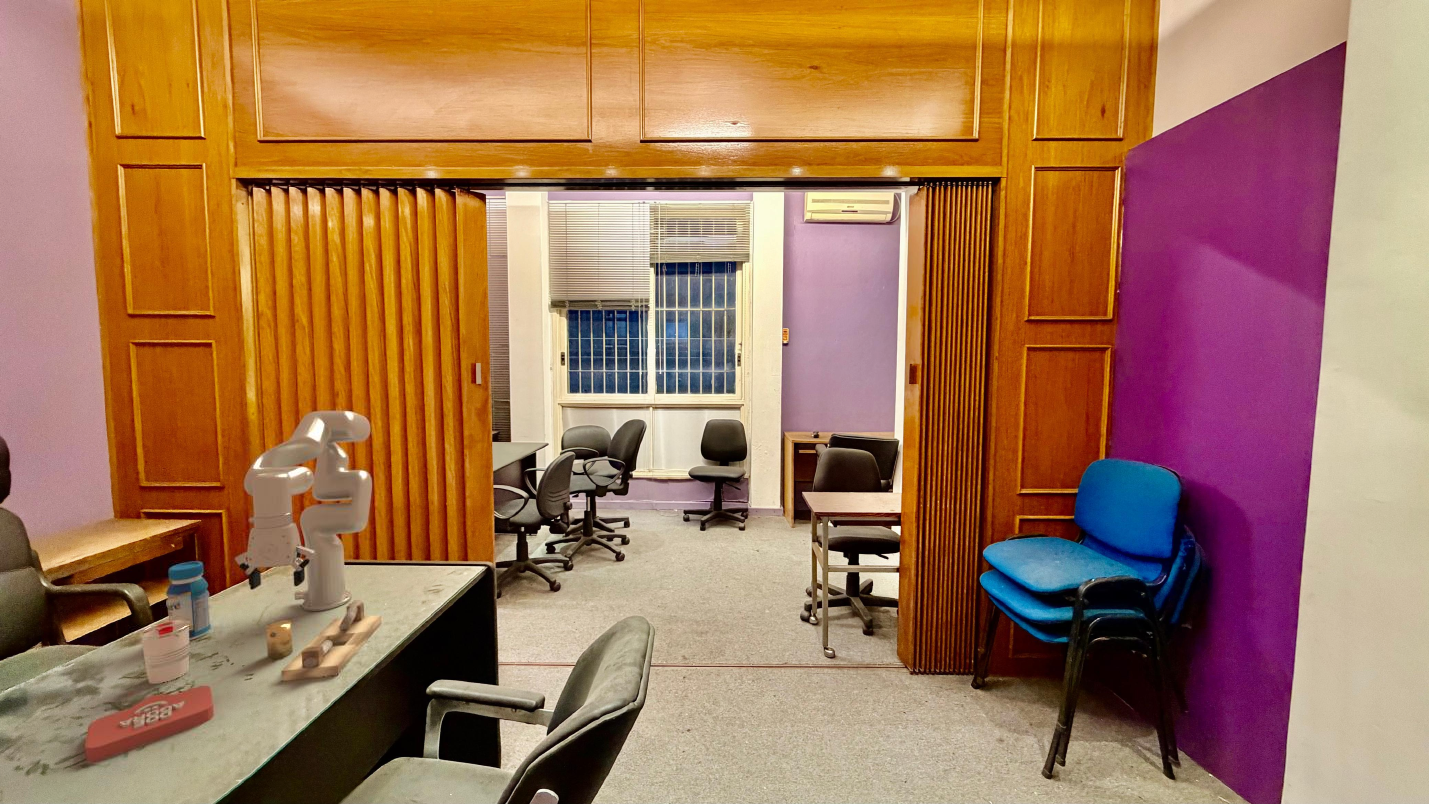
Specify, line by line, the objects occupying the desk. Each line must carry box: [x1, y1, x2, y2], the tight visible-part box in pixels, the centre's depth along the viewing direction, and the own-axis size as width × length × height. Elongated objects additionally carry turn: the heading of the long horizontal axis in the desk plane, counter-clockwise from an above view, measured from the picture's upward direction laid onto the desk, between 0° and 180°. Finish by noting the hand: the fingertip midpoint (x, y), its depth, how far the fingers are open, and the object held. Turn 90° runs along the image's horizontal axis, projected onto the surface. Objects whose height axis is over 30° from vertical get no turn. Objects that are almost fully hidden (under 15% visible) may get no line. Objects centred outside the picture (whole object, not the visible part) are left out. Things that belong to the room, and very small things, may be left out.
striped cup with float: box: [139, 620, 190, 685], centre depth 128 cm, size 10×8×12 cm
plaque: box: [84, 685, 215, 763], centre depth 111 cm, size 18×4×15 cm
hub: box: [265, 620, 294, 661], centre depth 137 cm, size 5×6×8 cm
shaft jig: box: [280, 599, 382, 682], centre depth 140 cm, size 12×26×8 cm, turn 12°
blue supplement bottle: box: [165, 560, 212, 641], centre depth 146 cm, size 8×8×20 cm
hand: (277, 585), depth 136 cm, fingers open, 9 cm apart
